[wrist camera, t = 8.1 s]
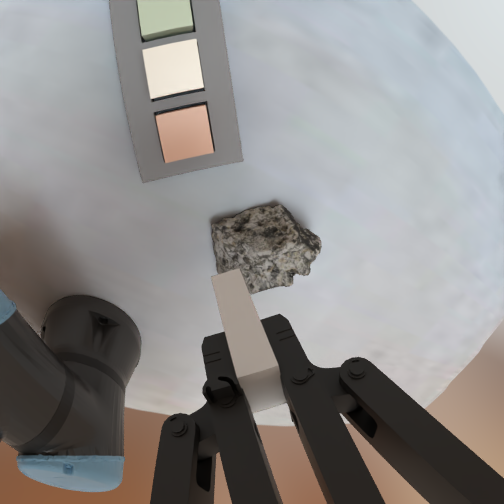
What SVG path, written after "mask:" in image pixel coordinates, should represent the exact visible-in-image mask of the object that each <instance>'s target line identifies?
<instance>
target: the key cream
mask: <svg viewBox="0 0 504 504" xmlns="http://www.w3.org/2000/svg"><path fill="white" fill-rule="evenodd" d="M142 51H143V57H144V64H145V70H146V76H147V81H148V87H149V93H150V98H151V99H154V98H159V97H163V96H167V95H172V94H176V93H181V92H186V91H191V90H196V89H201V88H204V84H203V78H202V72H201V66H200V59H199V53H198V46H197V40H196V39H191V40H186V41H180V42H175V43H170V44H166V45H161V46H157V47H153V48H148V49H144V50H142Z"/></svg>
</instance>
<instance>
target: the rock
mask: <svg viewBox="0 0 504 504" xmlns="http://www.w3.org/2000/svg"><path fill="white" fill-rule="evenodd" d="M211 226H212V228H213V233H212V239H213V241H214V243H215V246H214V254H215V256H216V261H217V265H218V267H217V272H218V274H222V273H225V272H228V271H232V270H235V269H240V271H241V274H242V276H243V279H244V281H245V284H246V286H247V289H248V291H249V293H250V294H254V293H257V292H260V291H264V290H267V289H270V288H274V287H279V286H285V287H287V286H291V285H292V284H293V276H294V275H295V274H299V275H303V276H305V275H309V273H310V264H311V263H312V262H313V261H314V260H315V259H316V256H317V255H318V254H319V253H320V250H321V247H322V246H321V240H320V238H319V237H318V236H317V235H315V234H314V233H312V232H311V231H310V230H308V229H303V228H302V227H301V226H300V224H298V223H297V222H296V221H295V220H294V218H293V216H292V215H291V213H290V212H289V211H288V210H287V209H286V208H285V207H284V206H282V205H277V206H275V207H274V208H271V207H270V206H267V207H258V208H255V209H250V210H246V211H244V212H242V213H241V214H237V215H236V216H235V218H224V219H222V221H221V222H220V223H219V224H217V223H214V224H212V225H211Z"/></svg>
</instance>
